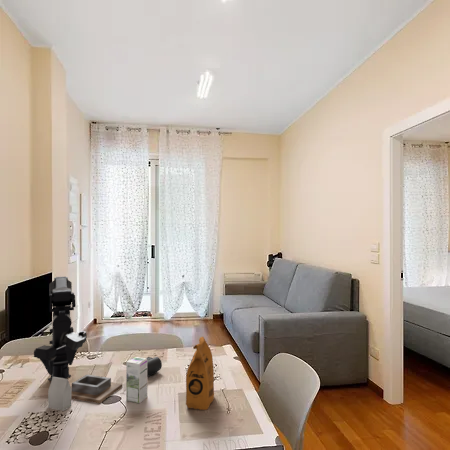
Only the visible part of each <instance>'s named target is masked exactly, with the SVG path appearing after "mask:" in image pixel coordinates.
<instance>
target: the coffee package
mask: <svg viewBox="0 0 450 450" xmlns="http://www.w3.org/2000/svg"><path fill="white" fill-rule="evenodd" d="M192 349H193V350H195V352H194V354H193V355H192V358H191V360H190V362H189V365H188V368H187V371H186V376H185V388H186V389H185V393H186V394H185V395H186V396H185V405H186V407H187V408H188V409H194V410H199V411H202V410H203V411H207V410H209V408H210V405H211V404H212V403H213V401H214V398H215V388H214V386H215V384H214V382H215V370H214V359H213V353H212V351H211V348H210V346H209V345H208V342H207V341H206V339H205V337H204V336H201V337H199V339H198V343H197V344H195V345H194V346H193V347H192Z"/></svg>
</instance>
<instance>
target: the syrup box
mask: <svg viewBox="0 0 450 450" xmlns="http://www.w3.org/2000/svg"><path fill="white" fill-rule="evenodd" d="M125 364H126V367H125V368H126V369H125V370H126V374H125V375H126V379H125V380H126V383H125V384H126V388H125V389H126V390H125V391H126V394H125V395H126V397H125V398H126V402H131V403H136V404H140V403H142V402H143V401H145V400H146V399H147V398H148V377H147V357H138V356H134V357H132V358H129V359H127V361H126V362H125Z"/></svg>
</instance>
